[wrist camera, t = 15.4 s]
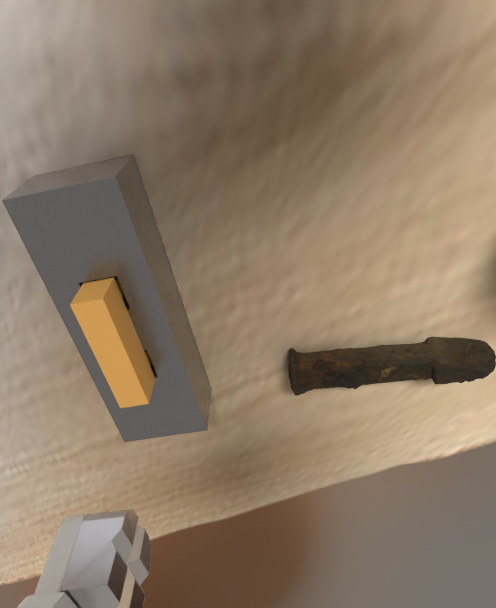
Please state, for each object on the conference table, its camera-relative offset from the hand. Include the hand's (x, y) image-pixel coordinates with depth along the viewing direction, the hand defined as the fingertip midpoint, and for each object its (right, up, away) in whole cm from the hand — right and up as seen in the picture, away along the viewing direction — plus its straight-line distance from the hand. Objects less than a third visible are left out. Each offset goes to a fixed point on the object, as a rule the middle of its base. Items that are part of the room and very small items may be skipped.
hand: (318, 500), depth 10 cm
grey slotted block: (-12, +5, +31) cm, 34 cm away
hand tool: (+12, 0, +35) cm, 37 cm away
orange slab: (-12, +5, +31) cm, 33 cm away
